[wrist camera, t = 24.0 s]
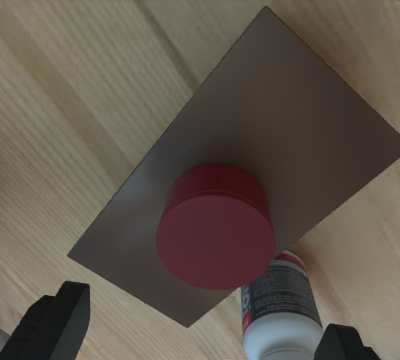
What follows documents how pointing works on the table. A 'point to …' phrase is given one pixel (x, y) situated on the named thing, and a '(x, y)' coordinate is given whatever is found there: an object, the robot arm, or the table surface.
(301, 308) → the pill bottle
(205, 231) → the dark red short cylinder
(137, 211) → the brown rectangular box
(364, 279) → the table surface
